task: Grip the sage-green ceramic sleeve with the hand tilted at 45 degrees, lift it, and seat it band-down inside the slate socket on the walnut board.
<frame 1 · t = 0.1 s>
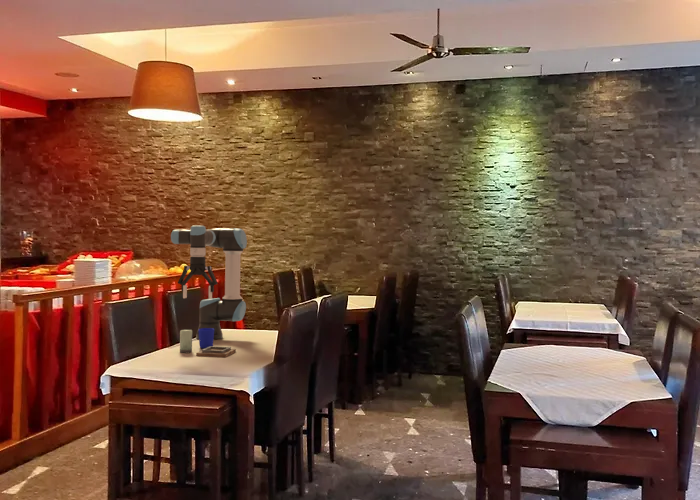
hand: (197, 298, 307), 28 cm above the table, tool pointing down, fingers open, 13 cm apart
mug: (207, 347, 327), on the table
sleeve: (185, 351, 312), on the table
socket board: (216, 353, 307), on the table
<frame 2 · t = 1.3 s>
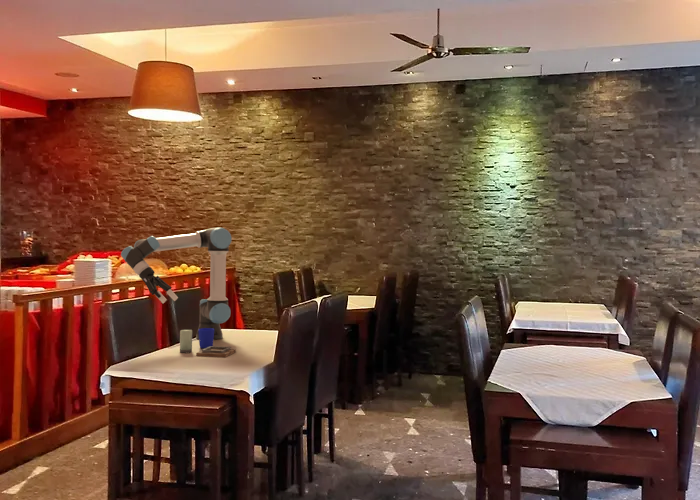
hand: (170, 300, 319), 25 cm above the table, tool tilted 45°, fingers open, 13 cm apart
nothing on the table moved.
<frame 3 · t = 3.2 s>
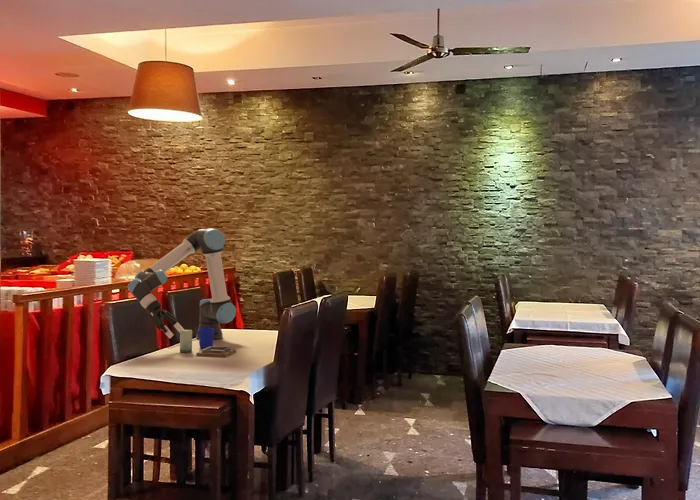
hand: (177, 335, 311), 9 cm above the table, tool tilted 45°, fingers open, 13 cm apart
nothing on the table moved.
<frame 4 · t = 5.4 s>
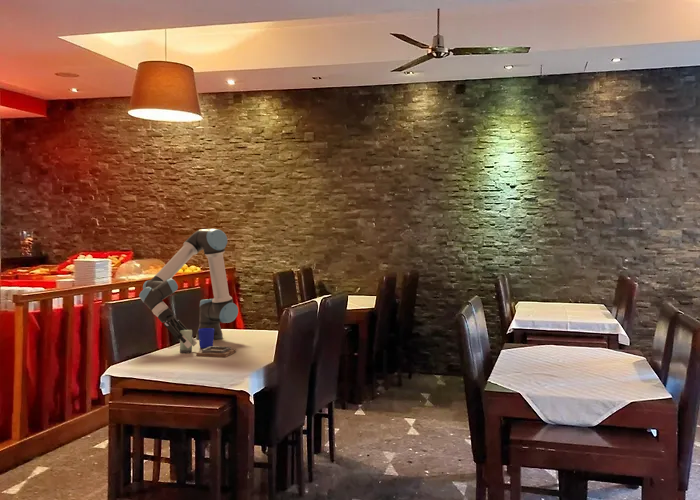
hand: (192, 345, 311), 3 cm above the table, tool tilted 45°, fingers closed on sleeve, 6 cm apart
sleeve: (185, 351, 312), on the table, touching gripper
everything else where it was.
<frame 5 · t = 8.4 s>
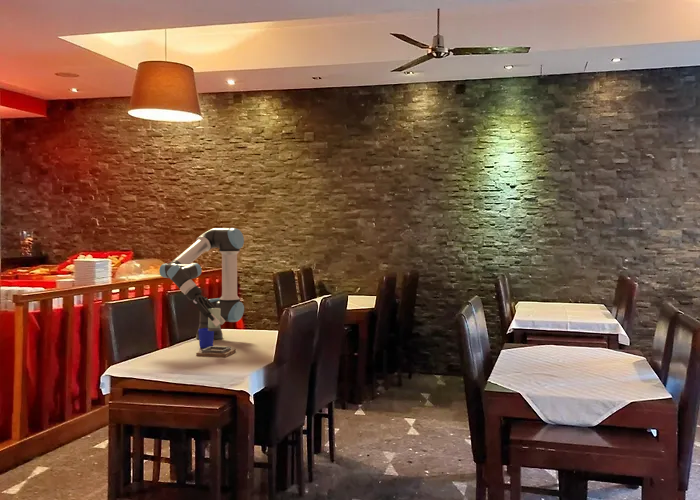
hand: (221, 323, 307), 15 cm above the table, tool tilted 45°, fingers closed on sleeve, 6 cm apart
sleeve: (214, 330, 307), point 12 cm above the table, touching gripper
everything else where it was.
when the fingers open (6 cm above the table, at t = 11.5 s): sleeve stays where it is, resting on socket board.
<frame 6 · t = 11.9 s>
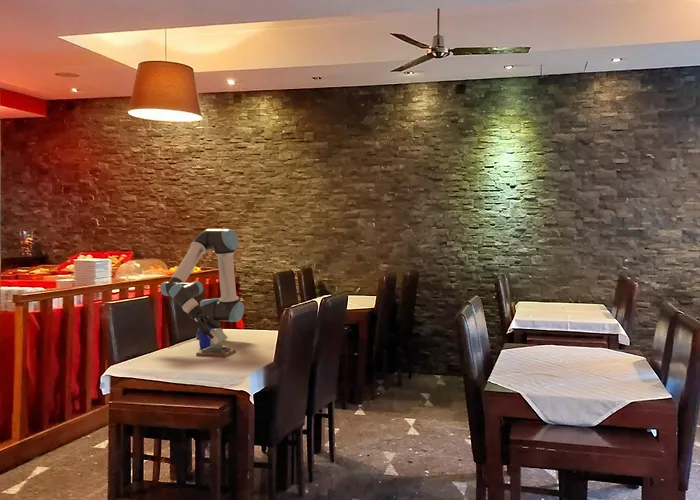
hand: (221, 341, 307), 7 cm above the table, tool tilted 45°, fingers open, 11 cm apart
sleeve: (216, 350, 307), point 2 cm above the table, touching socket board
everything else where it was.
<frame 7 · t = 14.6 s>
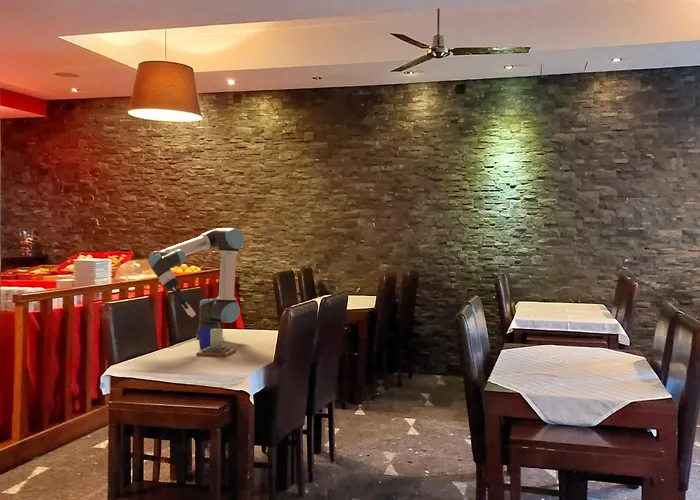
hand: (192, 315, 312), 19 cm above the table, tool tilted 35°, fingers open, 13 cm apart
nothing on the table moved.
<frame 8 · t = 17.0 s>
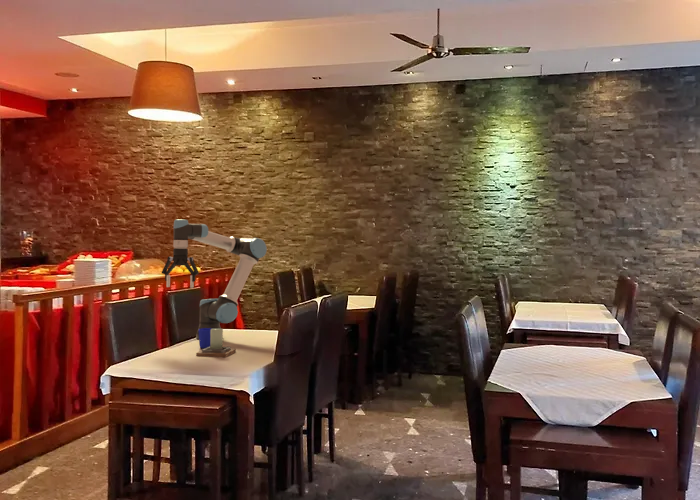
hand: (180, 287, 329), 32 cm above the table, tool pointing down, fingers open, 13 cm apart
nothing on the table moved.
at the end: sleeve inside the target area on the socket board (0.1 cm from its centre), point 1.5 cm above the socket board's base; sleeve tilted 0°; the gripper is holding nothing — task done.
